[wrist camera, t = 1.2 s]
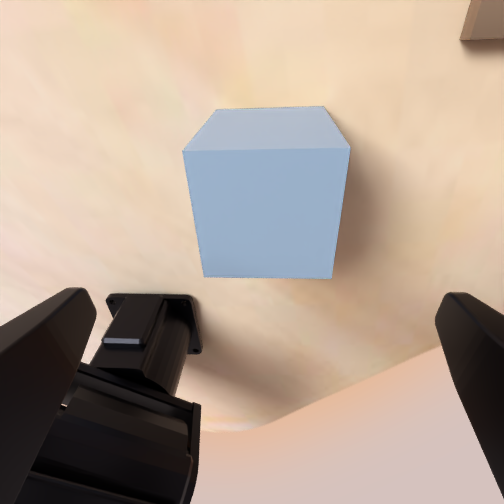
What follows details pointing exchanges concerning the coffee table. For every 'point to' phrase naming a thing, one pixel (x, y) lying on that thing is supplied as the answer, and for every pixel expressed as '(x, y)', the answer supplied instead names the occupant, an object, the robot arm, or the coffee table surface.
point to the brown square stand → (484, 20)
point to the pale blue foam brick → (267, 192)
